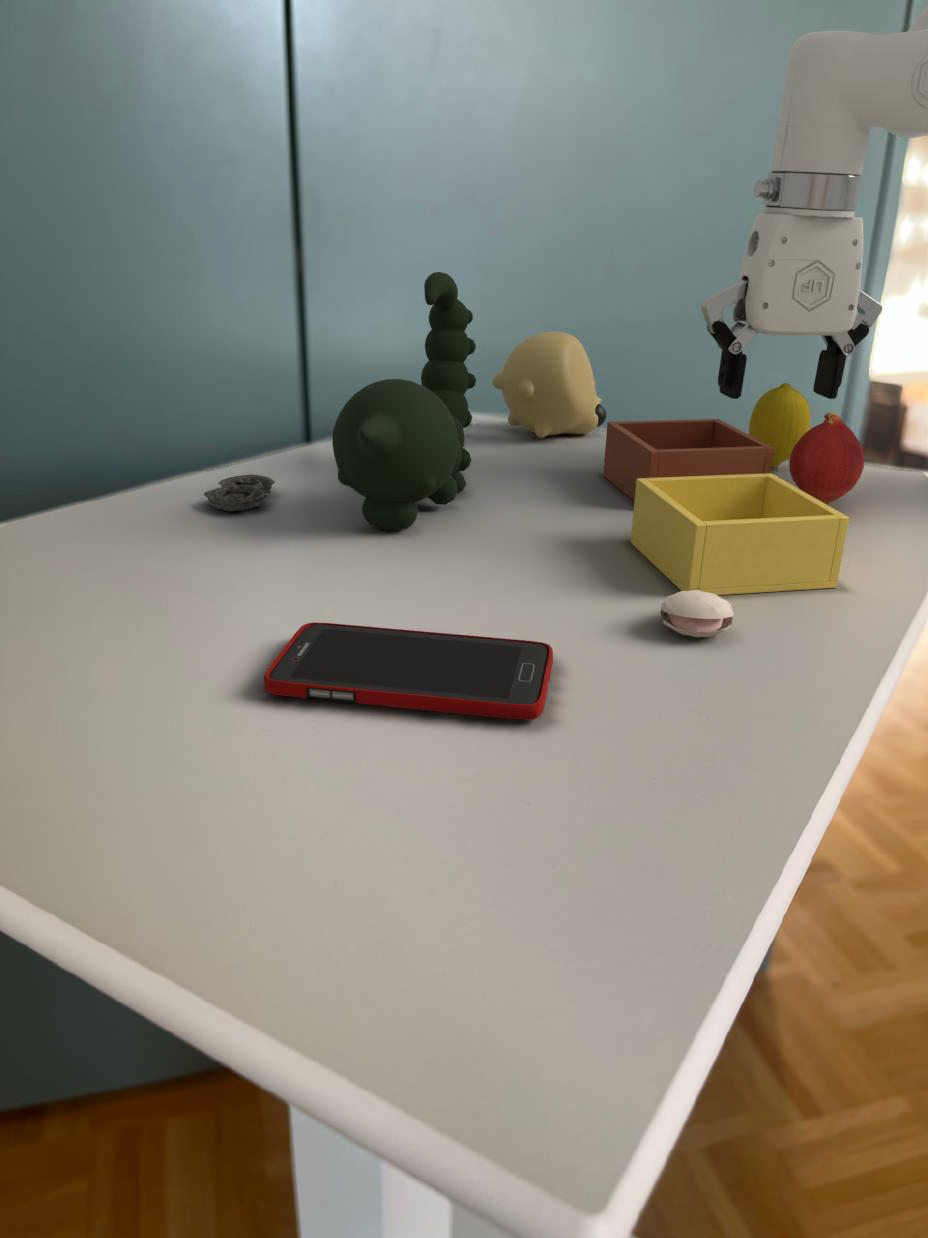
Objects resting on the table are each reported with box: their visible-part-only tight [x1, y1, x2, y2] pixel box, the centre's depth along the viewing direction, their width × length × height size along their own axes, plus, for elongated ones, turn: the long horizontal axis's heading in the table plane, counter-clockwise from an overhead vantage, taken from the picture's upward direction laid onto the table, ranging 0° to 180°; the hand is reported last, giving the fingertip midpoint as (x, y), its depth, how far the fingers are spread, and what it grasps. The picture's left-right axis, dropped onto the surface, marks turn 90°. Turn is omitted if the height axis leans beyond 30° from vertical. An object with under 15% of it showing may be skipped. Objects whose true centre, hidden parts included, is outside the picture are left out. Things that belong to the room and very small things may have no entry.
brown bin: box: [603, 418, 774, 502], centre depth 87 cm, size 11×11×5 cm
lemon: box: [748, 383, 812, 468], centre depth 94 cm, size 6×6×8 cm
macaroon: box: [659, 590, 734, 639], centre depth 61 cm, size 4×5×2 cm
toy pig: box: [492, 331, 607, 439], centre depth 105 cm, size 10×12×11 cm
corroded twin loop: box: [204, 474, 276, 512], centre depth 83 cm, size 5×8×1 cm, turn 175°
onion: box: [788, 411, 865, 505], centre depth 83 cm, size 6×6×8 cm
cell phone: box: [263, 621, 554, 721], centre depth 54 cm, size 8×15×1 cm, turn 81°
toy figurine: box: [331, 271, 477, 532], centre depth 79 cm, size 9×19×25 cm
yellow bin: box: [630, 472, 850, 596], centre depth 71 cm, size 11×11×5 cm
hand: (777, 395), depth 93 cm, fingers open, 9 cm apart
